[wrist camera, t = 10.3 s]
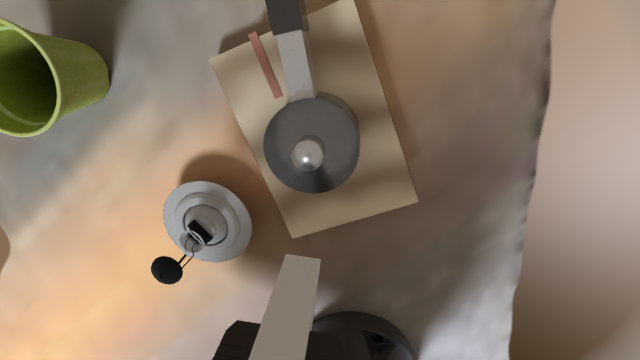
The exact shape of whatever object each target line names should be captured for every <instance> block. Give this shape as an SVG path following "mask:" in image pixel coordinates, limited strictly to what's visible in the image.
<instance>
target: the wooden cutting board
mask: <svg viewBox="0 0 640 360" xmlns="http://www.w3.org/2000/svg"><path fill="white" fill-rule="evenodd" d="M307 20H308V25H309V30H310V31H307V34H308V39H309V44H310V49H311V55H312V60H313V65H314V70H315V76H316V81H317V86H318V92H325V93H329V94H332V95H335V96H337V97H338V98H340V99H342V100H343V101H344V102H345V103H347V104H348V106H349V107H350V108H351V109H352V111H353V112H354V114H355V116H356V118H357V120H358V124H359V129H360V154H359V159H358V162H357V165H356V168H355V170H354V171H353V173H352V174H351V176H350V177H349V178H348V179H347V180H346V181H345V182H344V183H343V184H342V185H340V186H339V187H337V188H335V189H333V190H331V191H328V192H324V193H316V194H311V193H303V192H299V191H296V190H294V189H291V188H289V187H288V186H286V185H285V184H283V183H282V182H281V181H280V180H278V179H277V178H276V176H275V175H274V174H273V173H272V171H271V170H270V168H269V166H268V164H267V162H266V159H265V155H264V150H263V140H264V134H265V131H266V128H267V125H268V124H269V122H270V120H271V119H272V117H273V116H274V115H275V114H276V113H277V112H278V111H279V110H280V109H282V108H283V107H284V106H285V105H287V104H288V103H289V102H290V97H289V93H288V88H287V84H286V79H285V74H284V70H283V65H282V61H281V56H280V52H279V47H278V42H277V38H276V36H273V33H272V31H270V32H268V33H266V34H264V35H261V36H259V37H258V35H257V32H256V31H255V32H253V33H251V34H248V37H249V39H250V41H248V42H246V43H244V44H241V45H239V46H237V47H235V48H233V49H230V50H228V51H226V52H224V53H222V54H219V55H217V56H215V57H213V58H210V59H209V61H210V63H211V66H212V68H213V70H214V72H215V74H216V76H217V78H218V81H219V83H220V85H221V87H222V89H223V91H224V93H225V96H226V98H227V100H228V102H229V104H230V106H231V108H232V111H233V113H234V115H235V117H236V119H237V121H238V123H239V126H240V128H241V130H242V132H243V134H244V136H245V138H246V141H247V143H248V145H249V147H250V149H251V151H252V153H253V156H254V158H255V160H256V162H257V164H258V166H259V168H260V170H261V173H262V175H263V177H264V179H265V181H266V183H267V185H268V188H269V190H270V192H271V194H272V196H273V198H274V200H275V203H276V205H277V207H278V209H279V211H280V213H281V215H282V218H283V220H284V222H285V224H286V226H287V228H288V230H289V233H290V235H291V237H292V239H295V238H298V237H301V236H305V235H308V234H312V233H315V232H318V231H322V230H325V229H329V228H332V227H335V226H339V225H342V224H346V223H349V222H353V221H356V220H359V219H363V218H366V217H370V216H373V215H376V214H380V213H383V212H387V211H390V210H393V209H397V208H400V207H404V206H407V205H411V204H414V203H417V202H419V201H418V198H417V195H416V192H415V189H414V186H413V183H412V180H411V177H410V173H409V170H408V167H407V164H406V161H405V158H404V155H403V152H402V149H401V145H400V142H399V139H398V136H397V133H396V130H395V127H394V124H393V121H392V118H391V114H390V111H389V108H388V105H387V102H386V99H385V96H384V93H383V90H382V86H381V83H380V80H379V77H378V74H377V71H376V68H375V65H374V62H373V58H372V55H371V52H370V49H369V46H368V43H367V40H366V37H365V34H364V30H363V27H362V24H361V21H360V18H359V15H358V12H357V9H356V6H355V3H354V0H339V1H337V2H335V3H332V4H330V5H328V6H326V7H323V8H321V9H319V10H317V11H315V12H312V13H310V14H308V15H307Z"/></svg>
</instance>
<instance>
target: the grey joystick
mask: <svg viewBox="0 0 640 360" xmlns="http://www.w3.org/2000/svg"><path fill="white" fill-rule="evenodd" d="M163 218H164V225H165V227H166V230H167V232H168V235H169V236H170V237H171V239H172V240H173V242H174V243H175V244H176V245H177V246H178V247H179V248H180V249H181V250H182V251H183V252H184V253H185V255H184V256H183V257H182V258H181V260H180V261H179V262H177V261H176V260H174V259H173V258H170V257H166V256H161V257H158V258H156V259H155V260H154V261H153V263H152V266H151V272H152V274H153V276H154V277H155V278H156V279H157V280H158V281H159V282H161V283H164V284H174V283H176V282H178V281H179V280H180V279H181V277H182V274H183V271H182V268H183V267H184V266H185V265H186V264H187V263H188V262H189V261H190V260H191V259H192V258H196V259H199V260H202V261H208V262H216V263H217V262H223V261H228V260H232V259H233V258H235V257H236V256H238V255H240V254H241V253H242V252H243V251H244V250H245V249H246V247H247V246H248V244H249V242H250V239H251V235H252V222H251V218H250V214H249V212H248V210H247V208H246V206H245V205H244V204H243V202H242V201H241V200H240V199H239V198H238V197H237V196H236V195H235V194H234V193H233V192H231V191H230V190H228V189H227V188H225V187H223V186H221V185H219V184H216V183H213V182H209V181H192V182H188V183H185V184H182V185H180V186H178V187H177V188H176V189H174V190H173V191H172V192H171V194H170V195H169V196H168V198H167V200H166V202H165V205H164V211H163ZM186 256H188V257H191V258H190V259H189V260H188V261H187V263H186V264H185V265H184V266H183V267H182V268H181V266H180V263H181V262H182V261H183V259H184V258H185V257H186Z"/></svg>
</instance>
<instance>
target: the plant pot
mask: <svg viewBox="0 0 640 360" xmlns="http://www.w3.org/2000/svg"><path fill="white" fill-rule="evenodd" d="M109 86H110V83H109V78H108V67H107V65H106V63H105V61H104V60H103V58H102V57H101V55H100V54H99V53H98V52H97V51H96V50H95V49H93V48H92V47H90V46H89V45H87V44H84V43H81V42H78V41H73V40H68V39H62V38H57V37H52V36H48V35H43V34H38V33H34V32H31V31H29V30H26V29H24V28H21V27H20V26H18V25H16V24H15V23H13V22H10V21H8V20H6V19H3V18H0V132H2V133H5V134H8V135H12V136H17V137H30V136H35V135H38V134H41V133H43V132H45V131H46V130H48V129H49V128H50V127H51V126H52V125H53V124H54V123H55V122H56V121H57V120H58V119H59V118H60V117H62V116H64V115H67V114H69V113H72V112H74V111H76V110H79V109H81V108H83V107H86V106H88V105H91V104H93V103H95V102H98V101H100V100H101V99H102V98H104V96H105V95H106V94H107V92H108V90H109Z"/></svg>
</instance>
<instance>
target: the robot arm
mask: <svg viewBox="0 0 640 360" xmlns="http://www.w3.org/2000/svg"><path fill="white" fill-rule="evenodd" d="M320 263H321V259H318V258H311V257H304V256H297V255H290V254H286V255H285V258H284V261H283V263H282V266H281V269H280V272H279V275H278V278H277V280H276V283H275V286H274V289H273V292H272V294H271V297H270V300H269V303H268V306H267V309H266V311H265V314H264V317H263V320H262V323H261V324H258V323H251V322H245V321H239V320H237V321H236V322H235V323H234V324H233V325H232V326H230V327H229V328H228V329H227V330H226V332H225V334H224V336H223V338H222V340H221V342H220V345H219V346H218V349H217V351H216V353H215V356H214V357H213V359H212V360H413V358H412V352H411V348H410V345H409V343H408V341H407V340H406V338H405V337H404V336H403V334H402V333H401V332H400V331H399V330H398V329H397V328H396V327H394V326H393V325H392V324H390V323H388V322H387V321H385V320H383V319H381V318H378V317H376V316H373V315H369V314H365V313H358V312H342V313H336V314H331V315H328V316H325V317H323V318H321V319H319V320H317V321H315V322H314V323H313V316H314V310H315V302H316V294H317V286H318V278H319V271H320Z"/></svg>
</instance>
